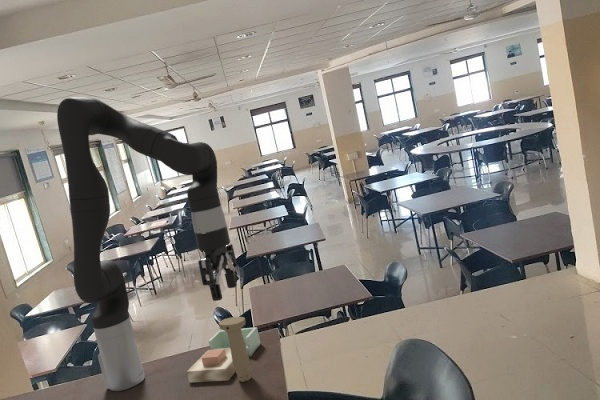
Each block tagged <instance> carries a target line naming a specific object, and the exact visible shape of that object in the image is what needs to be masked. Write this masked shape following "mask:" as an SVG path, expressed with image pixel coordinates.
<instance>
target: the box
mask: <svg viewBox="0 0 600 400" xmlns="http://www.w3.org/2000/svg"><path fill="white" fill-rule="evenodd" d="M241 331H242V335H243V339H244V342H245V346H246V349H247V352H248V356H249V357H252V356H253V355H254V353H255V352H256V351H257V349H258V348H260V345H262V343H261V339H260V335H259V334H260V333H259V331H258V327H257V326H256V327H255V326H254V327H247V328H246V327H242V328H241ZM208 345H209V348H210V349H209V350H213V349H225V348H230V344H229V338H228V334H227V332H226V331H224V330H222V329H221V330H218V331H217V332H216V333H215V334H214V335H213V336H212V337H211V338H210V339H209V340H208Z"/></svg>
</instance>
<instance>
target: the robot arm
mask: <svg viewBox="0 0 600 400" xmlns="http://www.w3.org/2000/svg"><path fill="white" fill-rule="evenodd" d="M56 114H57V116H56V117H57V118H56V119H57V126H58V132H59V137H60V141H61V145H62V146H61V147H62V151H63V155H64V160H65V161H64V162H65V169H66V177H67V183H68V184H67V185H68V198H69V199H68V200H69V207H70V215H71V223H72V224H71V225H72V236H73V284H74V288H75V291H76V294H77V296H78V297H79V299H80V300H81V301H82V302H84V303H85V304H96V303H98V304H97V307H96V309H95V311H94V312H93V314H92V315H91V324H92V328H93V331H94V332H93V333H94V336H95V340H96V343H97V346H98V350H99V354H98V355H97V359H98V362H99V367H100V371H101V374H102V379H103V382H104V385H105V388H106V390H110V391H112V392H121V391H122V392H123V391H125V390H128V389H131V388H133V387H136V386H137V385H138V384H140V383H141V382H143V381H144V379H145V378H146V376H145V372H144V367H143V363H142V359H141V355H140V353H139V348H138V345H137V340H136V336H135V333H134V328H133V326H132V322H131V321H132V320H131V317H130V313H129V308H130V307H129V306H130V303H129V302H130V301H129V295H128V291H127V290H128V289H127V286H126V281H125V277H124V273H123V271H122V269H121V267H120V266H119V265H118V264H117V263H116V262H115V261H114V260H111V259H104V260H101V246H102V241H103V239H104V235H105V233H106V230H107V227H108V224H109V220H110V215H111V205H110V203H111V202H110V192H109V187H108V184H107V182H106V180H105V178H104V177H103V175H102V174H101V172H100V171H99V168H98V167H97V165H96V164H95V162H94V160H93V157H92V154H91V149H90V147H91V146H90V136H95V135H101V136H102V135H103V136H108V137H113V138H116V139H119V140H120V141H123V142H124V143H125V144H126V145H127V146H128V147H129V148H130V149H132V151H135V152H136V153H138V154H141V155H143V156H145V157H148V158H151V159H153V160H156V161H158V162H161V163H162V164H164V165H165V166H166V167H168V168H169V169H171V170H172V171H174V172H176V173H178V174H181V175H186V176H192V177H191V178H192V184H191V185H190V186H189V188H188V189H187V190H186V193H187V194H186V195H187V199H188V200H187V201H188V204H189V208H190V209H189V210H190V212H191V214H190V215H191V223H192V227H193V232H194V235H195V240H196V245H197V248H198V250H199V251H200V252H204V258H203V259H198V268H199V272H200V277H201V282H202V285H203V286H208V287H209V290H210V294H211V300H212V301H214V302H217V301H221V300H222V299H223V294H222V290H221V285H220V282H219V281H220V276H221V275H222V271H223V273H225V274H224V277H225V280H226V285H227V288H228V289H233V288H236V287H237V285H238V284H237V280H236V276H235V272H236V268H237V267H238V261H237V257H236V255H235V254H236V253H235V251H234V247H233V246H234V245H233V244H232V243H231V239H230V234H229V230H228V225H227V222H226V217H225V213H224V210H223V208H222V203H221V199H220V196H219V191H218V162H217V161H218V160H217V157H216V153H215V152H214V150H213V148H212V147H211V145H209V144H208V143H206V142H201V141H197V142H192V143H191V142H190V143H187V142H186V143H185V142H182V141H179V139H178V138H177V137H176V136H175V135H174V134H173V133H171V132H168V131H165V130H164V129H163V130H162V129H160V128H157V127H155V126H152V125H150V124H147V123H144V122H141V121H139V120H136V119H135V118H132V117H130V116H128V115H127V114H126V115H125V114H124V113H122V112H120V111H119V110H117V109H115V108H114V107H112V106H110V105H109V104H107V103H105V102H103V101H101V100H99V99H97V98H95V97H75V96H74V97H67V98H64V99H63V100H62V101H60V103H59V105H58V108H57V113H56Z"/></svg>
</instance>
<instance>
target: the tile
mask: <svg viewBox="0 0 600 400" xmlns="http://www.w3.org/2000/svg"><path fill="white" fill-rule="evenodd" d="M208 350H209V351H208V352H207V353H206V354H205V355H204V356H203V357H202V356H201V357H202V358H201V357H200V358H201V359H202V363H203V365H216V364H220V363H221V361H222V360H223V359H224V358H225V357H226V353H225V349H216V350H210V349H208Z"/></svg>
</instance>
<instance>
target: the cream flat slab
mask: <svg viewBox="0 0 600 400" xmlns="http://www.w3.org/2000/svg"><path fill="white" fill-rule="evenodd" d="M209 350H210V349H208V350H206V351H205V352H204V353H203V354H202V355H201V356H200V358H198V360H196V361H195V363H194V364H192V365H191V367H190V368H189V369H188V370H187V371H186V374H187V378H188V382H189V383H191V384H192V383H203V382H204V383H206V382H222V381H230V380H231V378H232V377H233V376H234V375H235V373H236V371H235V368H234V365H233V361H232V355H231V349H230V348H225V353H226V357H225V358H224V359H223V360H222V361H221V363H220V364H216V365H203V363H202V359H201V358H202V357H203V356H204V355H205V354H206V353H207V352H208V351H209ZM213 350H216V349H213Z"/></svg>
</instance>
